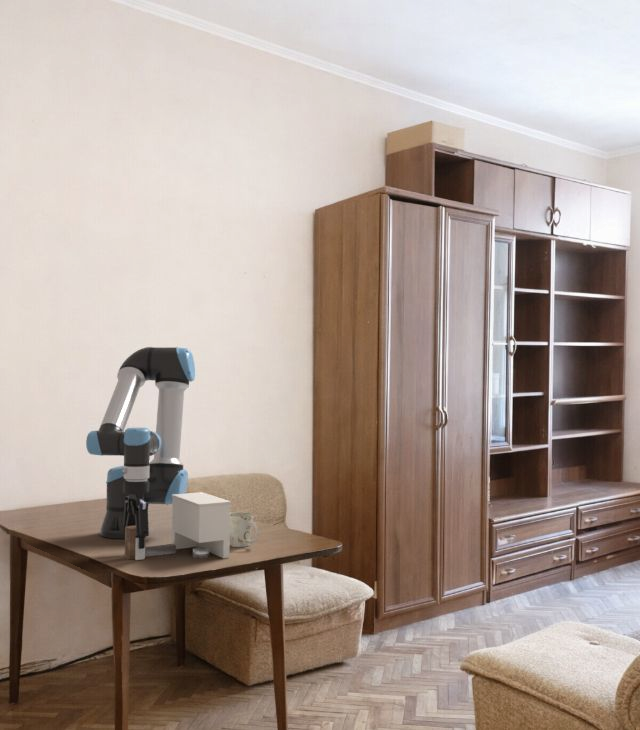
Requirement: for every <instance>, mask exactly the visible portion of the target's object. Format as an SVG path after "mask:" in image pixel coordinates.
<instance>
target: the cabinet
mask: <svg viewBox="0 0 640 730" xmlns="http://www.w3.org/2000/svg"><path fill="white" fill-rule="evenodd" d="M172 497H173V504H172V510H171V511H172V515H171V516H172V517H171V519H172V523H171V524H172V526H171V544H175V545H176V550H180V549H188V548H195V547H208V548H210V549H209V553H211V554H213V555H215V556H217V557H218V558H219V557H220V558H221V559H228V558H230V552H231V551H230V547H231V545H230V513H231V505H232V501H230V500H227V499H224V498H222V497H217V496H215V495H212V494H209V493H206V492H203V491H200V492H189V493H188V492H187V493H185V494H173V495H172Z"/></svg>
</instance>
